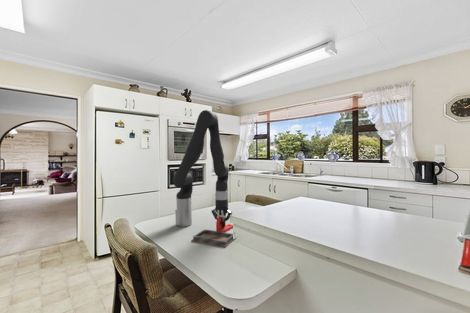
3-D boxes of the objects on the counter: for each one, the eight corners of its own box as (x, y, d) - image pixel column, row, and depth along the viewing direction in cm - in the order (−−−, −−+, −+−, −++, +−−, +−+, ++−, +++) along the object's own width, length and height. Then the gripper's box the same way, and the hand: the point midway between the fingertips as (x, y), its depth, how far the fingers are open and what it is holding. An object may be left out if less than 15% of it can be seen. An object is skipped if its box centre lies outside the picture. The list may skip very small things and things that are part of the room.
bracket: (222, 233, 125) (222, 219, 125) (216, 231, 128) (216, 218, 127) (234, 226, 135) (234, 214, 135) (228, 225, 138) (228, 213, 137)
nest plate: (191, 241, 115) (191, 236, 115) (204, 232, 127) (204, 228, 127) (225, 247, 107) (225, 243, 107) (236, 237, 118) (236, 233, 118)
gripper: (208, 198, 130) (208, 227, 130) (229, 200, 124) (229, 230, 125) (214, 195, 137) (214, 223, 137) (234, 197, 131) (234, 226, 132)
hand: (221, 226), depth 131 cm, fingers closed on bracket, 1 cm apart
